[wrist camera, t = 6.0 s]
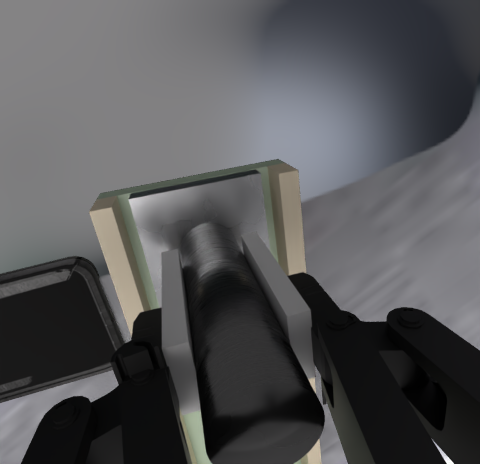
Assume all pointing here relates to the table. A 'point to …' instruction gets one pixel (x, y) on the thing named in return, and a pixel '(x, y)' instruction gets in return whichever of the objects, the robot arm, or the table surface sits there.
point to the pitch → (138, 276)
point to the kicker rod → (231, 320)
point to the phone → (53, 326)
